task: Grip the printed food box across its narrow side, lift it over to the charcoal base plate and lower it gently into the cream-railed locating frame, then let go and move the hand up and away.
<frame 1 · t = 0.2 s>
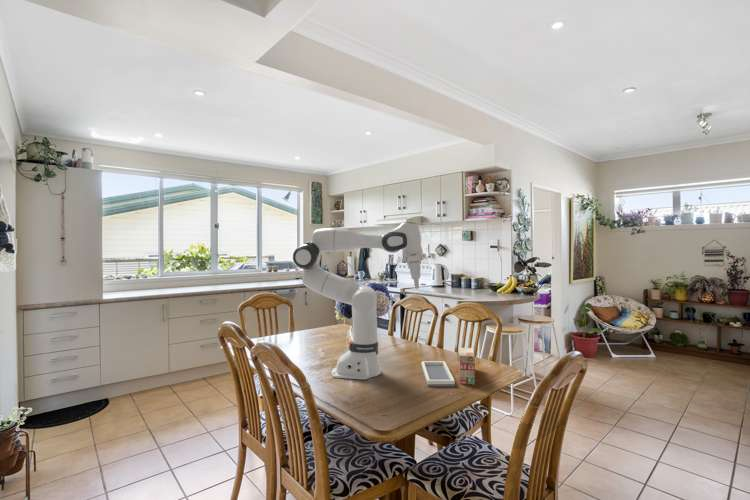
hand: (416, 287, 168), 39 cm above the table, tool pointing down, fingers open, 8 cm apart
printed food box: (466, 376, 163), on the table
base plate: (436, 375, 164), on the table
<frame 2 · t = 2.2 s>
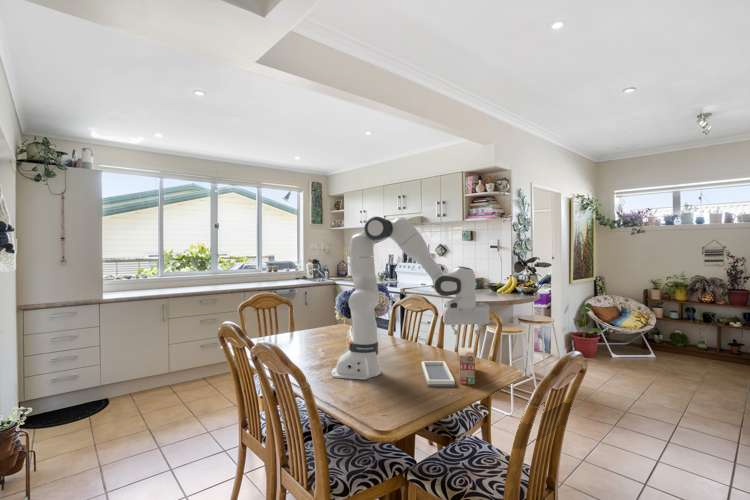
hand: (466, 334, 163), 18 cm above the table, tool pointing down, fingers open, 8 cm apart
nothing on the table moved.
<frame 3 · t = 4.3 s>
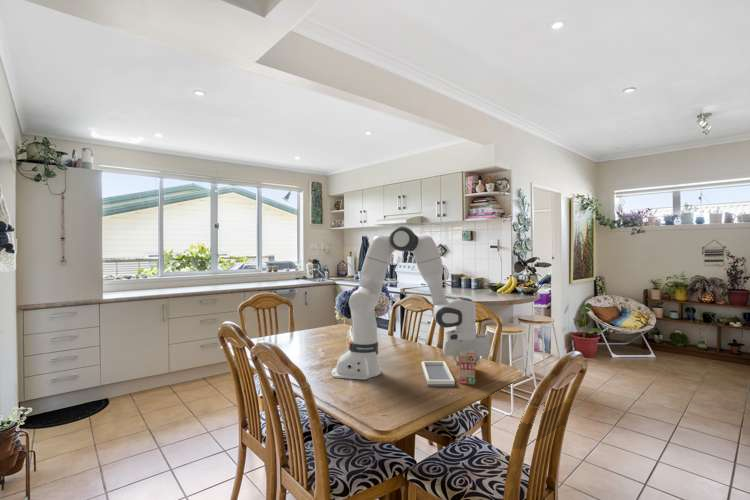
hand: (466, 365, 163), 5 cm above the table, tool pointing down, fingers closed on printed food box, 6 cm apart
printed food box: (466, 376, 164), on the table, touching gripper
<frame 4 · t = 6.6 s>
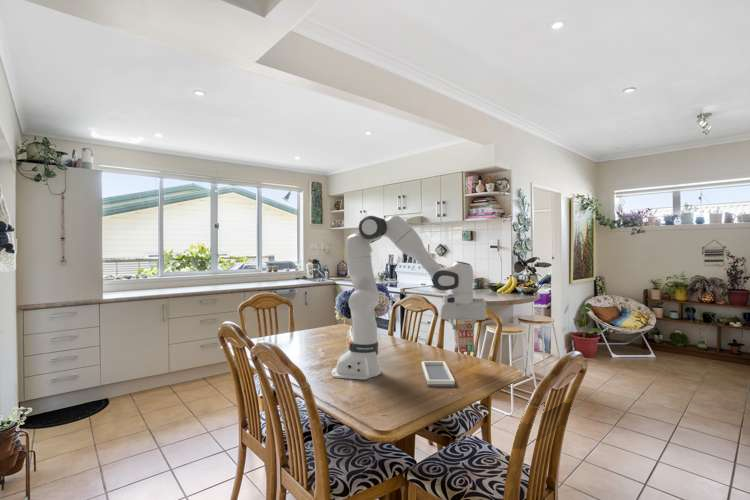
hand: (462, 329, 163), 21 cm above the table, tool pointing down, fingers closed on printed food box, 6 cm apart
printed food box: (463, 345, 164), point 13 cm above the table, touching gripper
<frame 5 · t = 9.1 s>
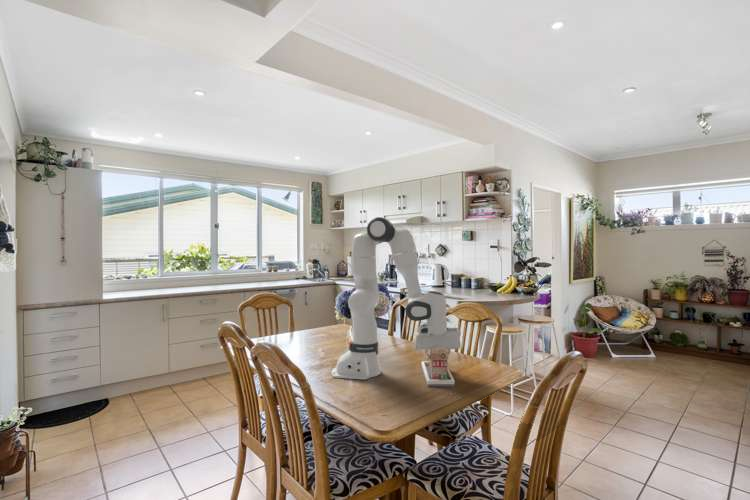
hand: (437, 359, 164), 7 cm above the table, tool pointing down, fingers closed on printed food box, 6 cm apart
printed food box: (437, 373, 164), point 1 cm above the table, touching base plate, gripper
when the fingers open (7 cm above the table, at t = 9.7 s): printed food box stays where it is, resting on base plate.
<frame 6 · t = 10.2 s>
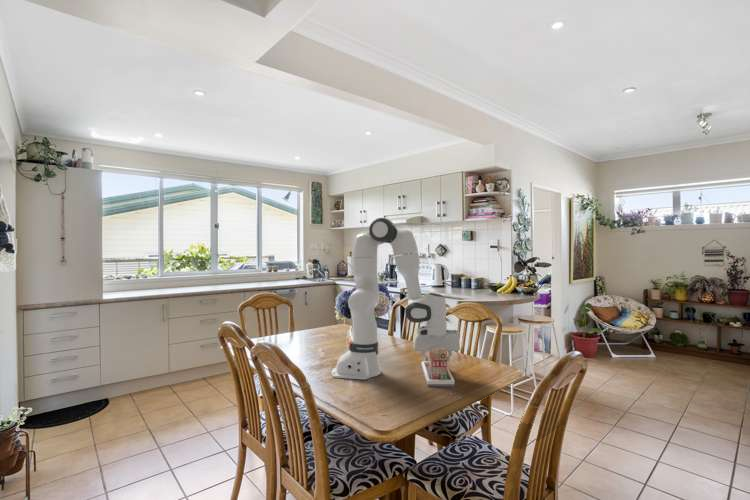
hand: (436, 360, 164), 7 cm above the table, tool pointing down, fingers open, 8 cm apart
printed food box: (437, 373, 164), point 1 cm above the table, touching base plate
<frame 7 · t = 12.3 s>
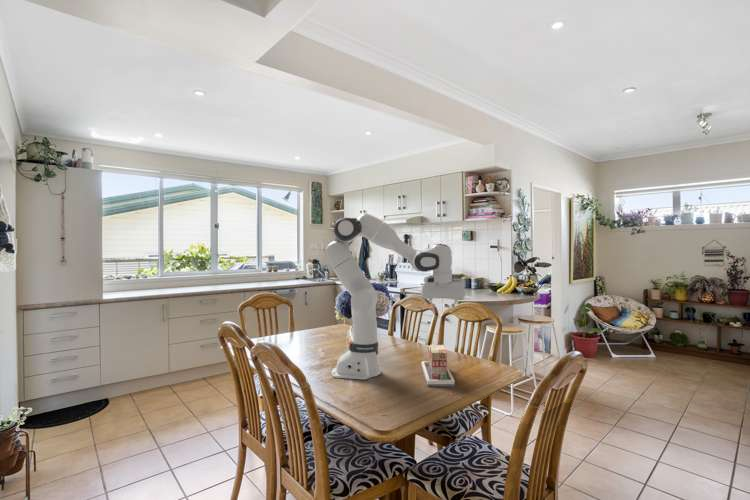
hand: (443, 307, 173), 29 cm above the table, tool pointing down, fingers open, 8 cm apart
nothing on the table moved.
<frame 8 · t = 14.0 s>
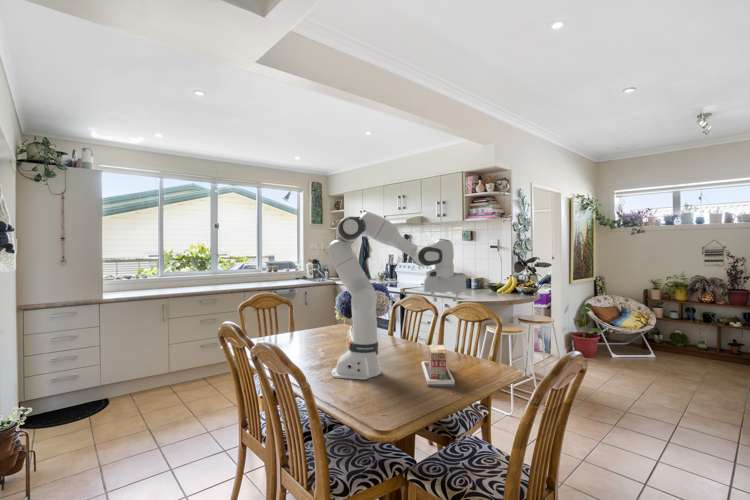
hand: (444, 301, 177), 31 cm above the table, tool pointing down, fingers open, 8 cm apart
nothing on the table moved.
at the end: printed food box 0.7 cm off-centre on the base plate, point 0.8 cm above the base plate's base; printed food box tilted 0°; the gripper is holding nothing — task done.
